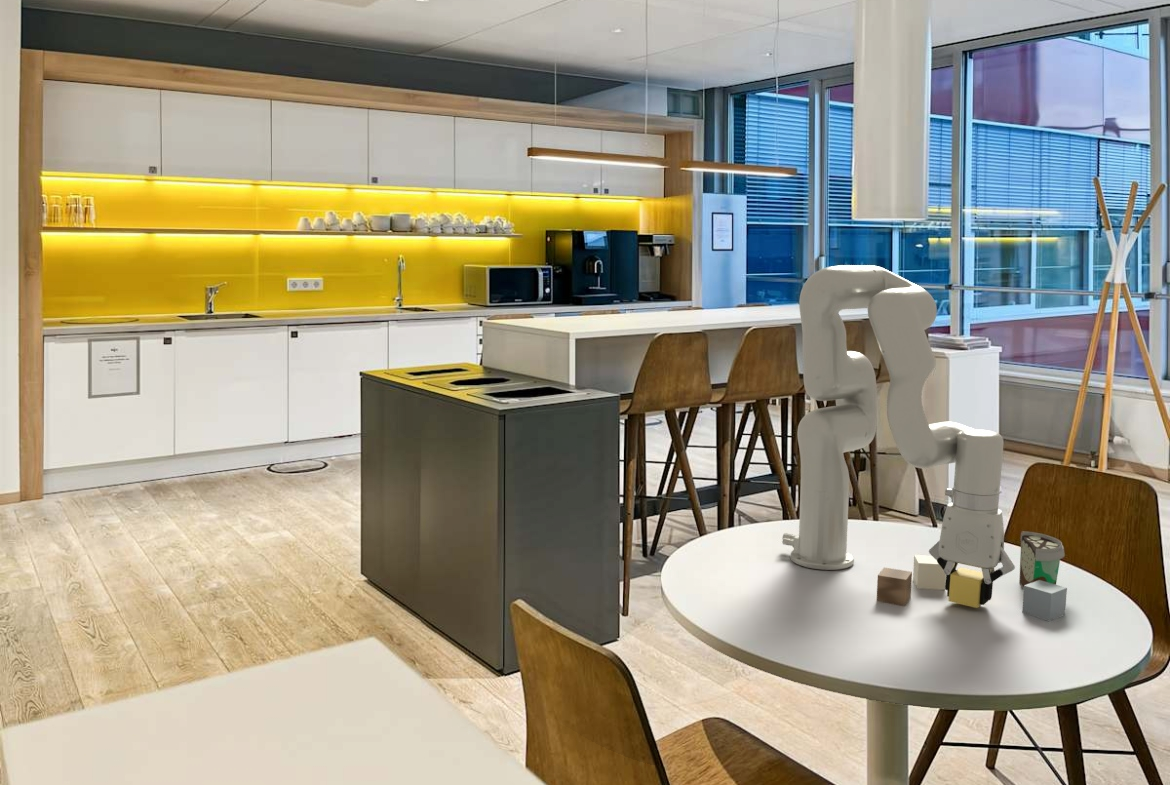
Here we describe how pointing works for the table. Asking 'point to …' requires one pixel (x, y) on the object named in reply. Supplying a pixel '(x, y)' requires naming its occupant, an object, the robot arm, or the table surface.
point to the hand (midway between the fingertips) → (967, 597)
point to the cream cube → (928, 573)
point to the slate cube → (1044, 600)
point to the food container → (1039, 558)
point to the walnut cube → (894, 586)
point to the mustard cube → (965, 587)
